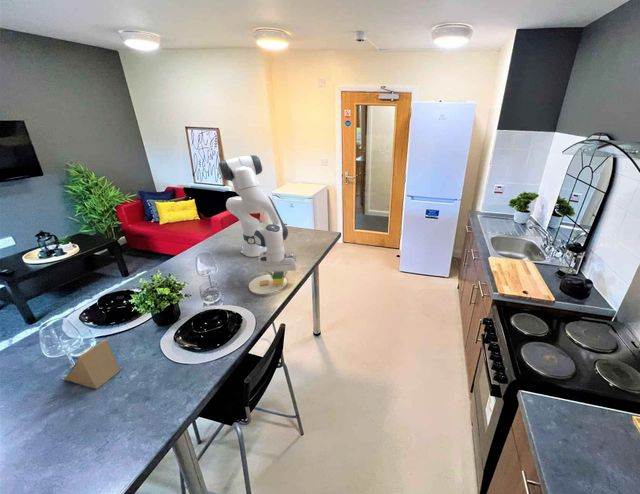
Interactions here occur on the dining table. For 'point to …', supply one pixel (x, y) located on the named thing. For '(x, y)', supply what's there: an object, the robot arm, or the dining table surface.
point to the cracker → (264, 282)
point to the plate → (266, 289)
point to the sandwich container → (94, 366)
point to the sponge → (278, 277)
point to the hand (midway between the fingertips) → (278, 277)
